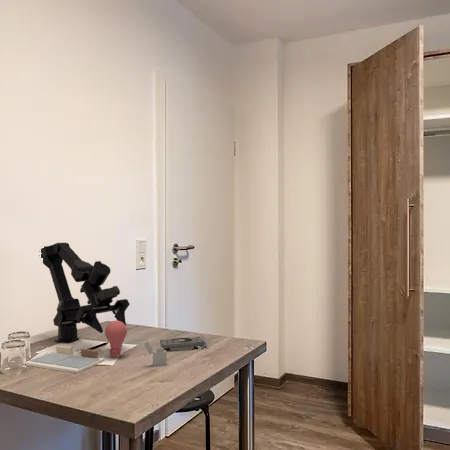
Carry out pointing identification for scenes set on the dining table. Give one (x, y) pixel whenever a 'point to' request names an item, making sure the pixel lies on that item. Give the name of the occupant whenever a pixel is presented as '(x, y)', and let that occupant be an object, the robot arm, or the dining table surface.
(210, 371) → the dining table surface
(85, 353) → the board
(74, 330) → the robot arm
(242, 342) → the dining table surface
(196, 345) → the graphics card
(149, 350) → the lighter
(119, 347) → the light bulb
